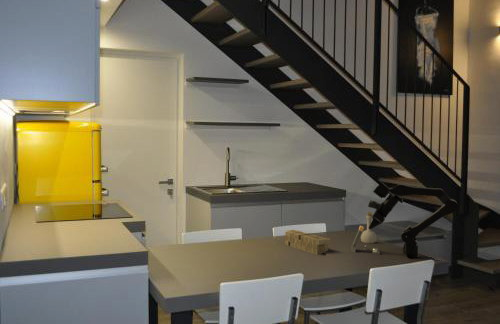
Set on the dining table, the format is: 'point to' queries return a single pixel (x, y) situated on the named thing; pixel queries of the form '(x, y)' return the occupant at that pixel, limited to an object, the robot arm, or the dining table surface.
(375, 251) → the switch panel
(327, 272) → the dining table surface
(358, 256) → the dining table surface
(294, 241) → the block tower
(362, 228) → the orange plate
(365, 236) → the potion bottle
